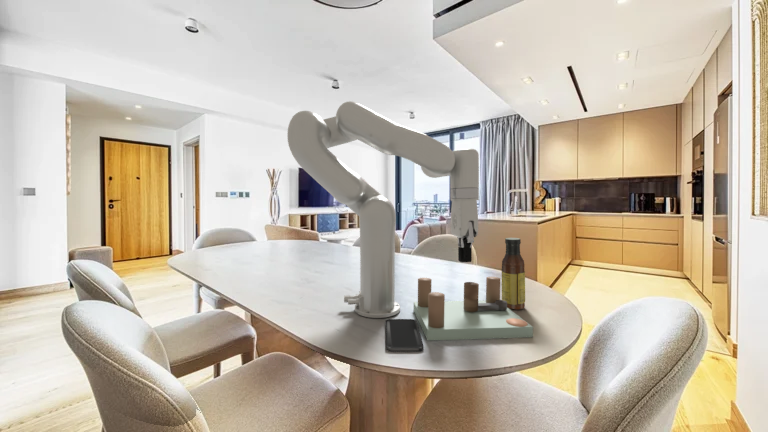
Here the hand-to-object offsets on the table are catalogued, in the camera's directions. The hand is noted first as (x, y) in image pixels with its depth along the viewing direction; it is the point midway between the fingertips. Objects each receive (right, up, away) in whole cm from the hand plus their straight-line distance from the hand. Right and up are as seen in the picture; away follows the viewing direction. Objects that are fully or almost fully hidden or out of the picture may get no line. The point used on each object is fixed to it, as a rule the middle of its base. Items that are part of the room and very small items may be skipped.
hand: (464, 261), depth 85 cm
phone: (-18, -15, -15) cm, 28 cm away
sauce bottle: (+15, -14, +3) cm, 20 cm away
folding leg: (+4, -11, -6) cm, 13 cm away
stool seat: (-2, -14, -8) cm, 16 cm away
